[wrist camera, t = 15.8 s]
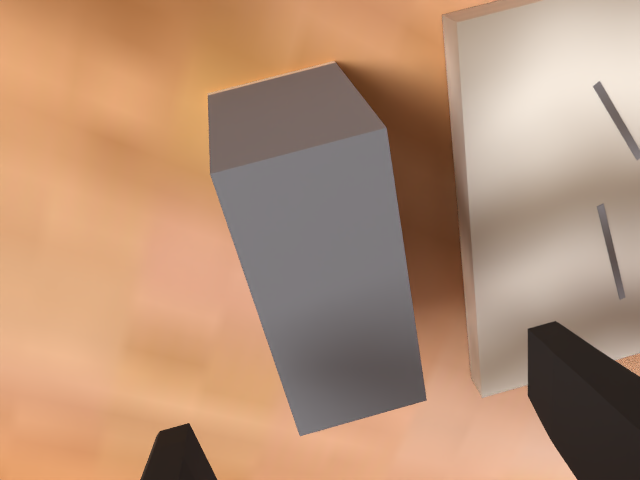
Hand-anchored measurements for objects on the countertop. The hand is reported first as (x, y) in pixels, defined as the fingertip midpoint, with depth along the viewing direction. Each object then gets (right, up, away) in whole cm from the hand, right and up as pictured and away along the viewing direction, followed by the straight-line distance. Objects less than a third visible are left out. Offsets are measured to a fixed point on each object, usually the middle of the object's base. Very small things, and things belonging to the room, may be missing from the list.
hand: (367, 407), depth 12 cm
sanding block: (-2, +5, +8) cm, 10 cm away
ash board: (+11, +5, +10) cm, 16 cm away
